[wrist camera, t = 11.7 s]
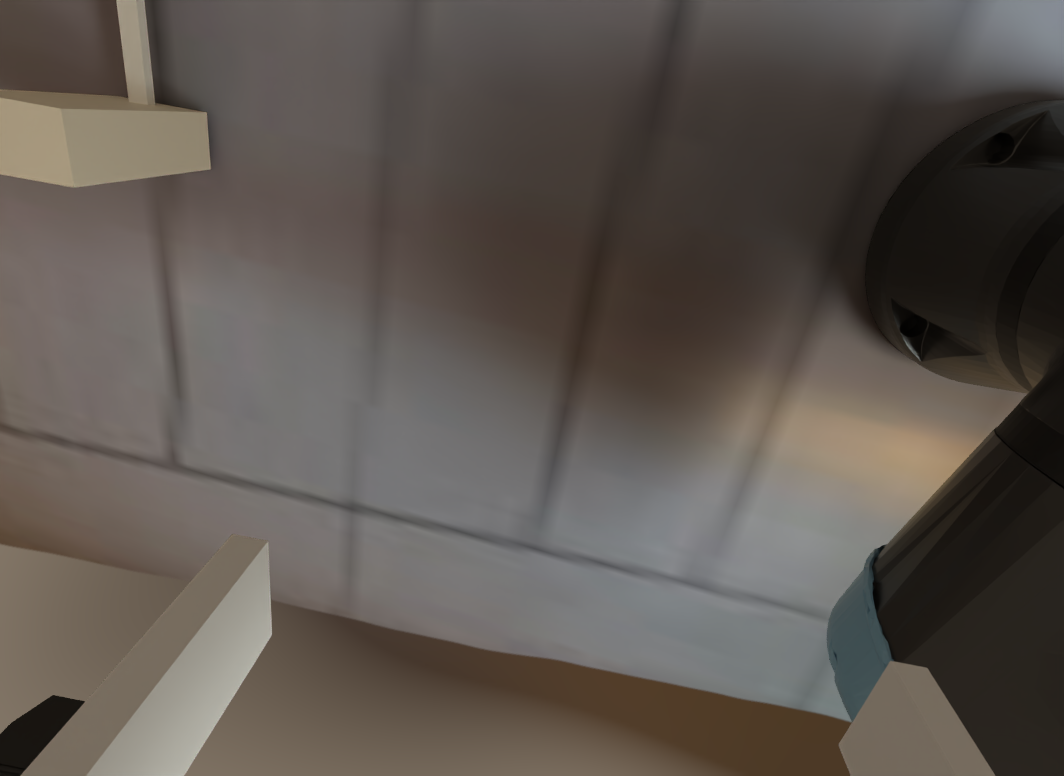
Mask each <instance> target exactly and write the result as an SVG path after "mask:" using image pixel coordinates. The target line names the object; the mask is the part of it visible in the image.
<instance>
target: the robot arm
mask: <svg viewBox="0 0 1064 776" xmlns="http://www.w3.org/2000/svg"><path fill="white" fill-rule="evenodd" d="M866 291H867V297H868V302H869V306H870V309H871V312H872V315H873V317H874V319H875V321H876V323H877V325H878V327H879V329H880V330H881V332H882V333H883V334H884V336H885V337H886V338H887V339H888V340H889V341H890V343H891V344H892V345H894V346H895V347H896V348H897V349H898V350H899V351H901V352H902V353H904V354H905V355H906V356H908V357H909V358H911V359H912V360H914V361H915V362H916V363H918V364H919V365H921V366H923V367H924V368H926V369H928V370H929V371H932V372H934V373H936V374H938V375H941V376H943V377H946V378H948V379H952V380H955V381H958V382H963V383H968V384H974V385H980V386H986V387H992V388H997V389H1003V390H1009V391H1015V392H1021V393H1027V395H1026V396H1025V397H1024V398H1023V399H1022V400H1021V402H1020V403H1019V404H1018V405H1017V407H1016V408H1015V409H1014V410H1013V411H1012V412H1011V413H1010V414H1009V415H1008V416H1007V417H1006V418H1005V419H1004V421H1003V422H1002V423H1001V424H1000V425H999V426H998V427H996V428H995V429H994V430H993V431H992V432H991V433H990V434H989V435H988V436H987V437H986V439H985V440H984V441H983V442H982V443H981V444H980V445H979V446H978V447H977V448H976V449H975V450H974V451H973V452H972V454H971V455H970V456H969V457H968V458H967V459H966V460H965V461H964V462H963V463H962V464H961V465H960V466H959V468H958V469H957V470H956V471H955V472H954V473H953V474H952V475H951V476H950V477H949V478H948V479H947V480H946V482H945V483H944V484H943V485H942V486H941V487H940V488H939V489H938V490H937V491H936V492H935V493H934V494H933V496H932V497H931V498H930V499H929V500H928V501H927V502H926V503H925V504H924V505H923V506H922V507H921V508H920V510H919V511H918V512H917V513H916V514H915V515H914V516H913V517H912V518H911V519H910V520H909V521H908V522H907V524H906V525H905V526H904V527H903V528H902V529H901V530H900V531H899V532H898V533H897V534H896V535H895V536H894V538H893V539H892V540H891V541H890V542H889V543H888V544H886V545H883V546H881V547H880V548H877V549H875V550H874V551H873V552H872V553H871V554H870V555H869V557H868V558H867V560H866V563H865V566H864V570H863V571H862V572H861V573H860V574H859V576H858V577H857V578H856V579H855V581H854V582H853V583H852V584H851V585H850V587H849V588H848V589H847V590H846V592H845V593H844V594H843V595H842V596H841V598H840V599H839V600H838V601H837V603H836V605H835V606H834V608H833V610H832V612H831V615H830V618H829V622H828V628H827V648H828V653H829V660H830V663H831V665H832V668H833V670H834V672H835V683H836V686H837V689H838V692H839V694H840V697H841V699H842V702H843V704H844V706H845V708H846V710H847V713H848V715H849V717H850V719H851V721H852V724H851V726H850V727H849V729H848V730H847V732H846V734H845V735H844V737H843V738H842V740H841V742H840V743H839V747H840V750H841V753H842V755H843V757H844V760H845V762H846V765H847V767H848V770H849V772H850V775H851V776H1064V100H1049V101H1039V102H1033V103H1027V104H1023V105H1018V106H1014V107H1011V108H1008V109H1005V110H1002V111H999V112H997V113H994V114H991V115H989V116H987V117H985V118H983V119H980V120H978V121H976V122H974V123H973V124H971V125H969V126H967V127H965V128H964V129H962V130H961V131H959V132H957V133H956V134H954V135H953V136H951V137H950V138H948V139H947V140H946V141H944V142H943V143H942V144H940V145H939V146H938V147H937V148H935V149H934V150H933V151H932V152H931V153H930V154H929V155H927V156H926V157H925V158H924V159H923V160H922V161H921V162H920V163H919V164H918V165H917V166H916V167H915V168H914V169H913V170H912V172H911V173H910V174H909V175H908V176H907V177H906V179H905V180H904V181H903V182H902V184H901V185H900V186H899V188H898V189H897V190H896V192H895V193H894V195H893V196H892V198H891V199H890V201H889V203H888V204H887V206H886V208H885V210H884V212H883V213H882V215H881V217H880V220H879V222H878V224H877V226H876V229H875V232H874V234H873V237H872V241H871V244H870V248H869V252H868V257H867V264H866ZM271 636H272V625H271V599H270V573H269V547H268V541H266V540H261V539H256V538H251V537H245V536H240V535H235V534H232V535H231V536H230V537H229V539H228V540H227V541H226V542H225V543H224V544H223V545H222V546H221V548H220V549H219V550H218V551H217V552H216V553H215V554H214V556H213V557H212V558H211V559H210V560H209V561H208V562H207V564H206V565H205V566H204V567H203V568H202V569H201V570H200V572H199V573H198V574H197V575H196V576H195V577H194V578H193V580H192V581H191V582H190V583H189V584H188V585H187V586H186V588H185V589H184V590H183V591H182V592H181V593H180V594H179V596H178V597H177V598H176V599H175V600H174V601H173V602H172V604H171V605H170V606H169V607H168V608H167V609H166V610H165V611H164V613H163V614H162V615H161V616H160V617H159V619H158V620H157V621H156V622H155V623H154V624H153V625H152V626H151V627H150V629H149V630H148V631H147V632H146V633H145V634H144V635H143V637H142V638H141V639H140V640H139V641H138V642H137V643H136V644H135V646H134V647H133V648H132V649H131V650H130V651H129V652H128V654H127V655H126V656H125V657H124V658H123V659H122V661H121V662H120V663H119V664H118V665H117V666H116V667H115V669H114V670H113V671H112V672H111V673H110V674H109V675H108V676H107V678H106V679H105V680H104V681H103V682H102V683H101V684H100V686H99V687H98V688H97V689H96V690H95V691H94V692H93V693H92V695H91V696H90V697H89V698H88V699H87V700H86V701H80V700H75V699H70V698H65V697H59V696H55V695H53V696H51V697H50V698H48V699H47V700H45V701H43V702H42V703H40V704H39V705H37V706H36V707H34V708H33V709H32V710H30V711H28V712H27V713H25V714H24V715H22V716H21V717H20V718H18V719H16V720H15V721H13V722H12V723H11V724H10V725H9V726H8V727H7V728H6V729H5V730H4V731H3V732H2V733H1V734H0V776H184V775H185V773H186V772H187V770H188V769H189V767H190V765H191V764H192V762H193V760H194V759H195V757H196V755H197V754H198V752H199V751H200V749H201V748H202V746H203V744H204V742H205V741H206V740H207V738H208V736H209V735H210V733H211V732H212V730H213V728H214V727H215V725H216V724H217V722H218V720H219V719H220V717H221V716H222V714H223V712H224V711H225V709H226V707H227V706H228V704H229V703H230V701H231V700H232V698H233V696H234V695H235V693H236V692H237V690H238V688H239V687H240V685H241V684H242V682H243V680H244V679H245V677H246V675H247V674H248V672H249V671H250V669H251V668H252V666H253V664H254V663H255V661H256V660H257V658H258V656H259V655H260V653H261V652H262V650H263V648H264V647H265V645H266V643H267V642H268V640H269V639H270V637H271Z"/></svg>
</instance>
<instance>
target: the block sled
mask: <svg viewBox="0 0 1064 776" xmlns="http://www.w3.org/2000/svg"><path fill="white" fill-rule="evenodd" d="M116 2H117V10H118V18H119V26H120V34H121V43H122V51H123V59H124V67H125V75H126V83H127V91H128V98H126V97H120V96H110V95H92V94H75V93H57V92H39V91H22V90H4V89H0V174H1V175H7V176H12V177H18V178H23V179H29V180H35V181H40V182H46V183H51V184H57V185H62V186H68V187H73V188H76V187H83V186H91V185H98V184H106V183H113V182H121V181H128V180H136V179H143V178H151V177H158V176H166V175H173V174H181V173H188V172H196V171H203V170H211V164H210V150H209V136H208V122H207V112H202V111H196V110H191V109H185V108H180V107H175V106H169V105H164V104H158V103H155V97H154V88H153V78H152V69H151V59H150V50H149V40H148V31H147V21H146V12H145V3H144V0H116Z"/></svg>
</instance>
